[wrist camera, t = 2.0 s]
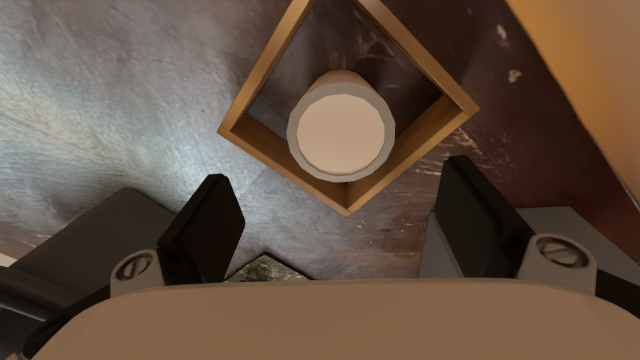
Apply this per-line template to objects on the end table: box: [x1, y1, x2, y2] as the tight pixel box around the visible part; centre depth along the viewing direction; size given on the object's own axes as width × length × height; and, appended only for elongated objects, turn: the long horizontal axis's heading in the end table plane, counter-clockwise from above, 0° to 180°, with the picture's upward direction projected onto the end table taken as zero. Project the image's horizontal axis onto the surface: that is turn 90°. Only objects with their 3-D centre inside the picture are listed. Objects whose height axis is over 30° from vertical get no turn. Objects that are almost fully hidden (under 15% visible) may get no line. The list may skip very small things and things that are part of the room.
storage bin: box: [0, 188, 176, 360], centre depth 27 cm, size 21×16×14 cm
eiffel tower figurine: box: [223, 255, 309, 283], centre depth 33 cm, size 15×10×13 cm
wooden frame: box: [217, 0, 480, 218], centre depth 20 cm, size 14×14×4 cm
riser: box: [418, 206, 640, 286], centre depth 23 cm, size 14×14×18 cm
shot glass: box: [286, 69, 395, 183], centre depth 18 cm, size 7×7×7 cm
